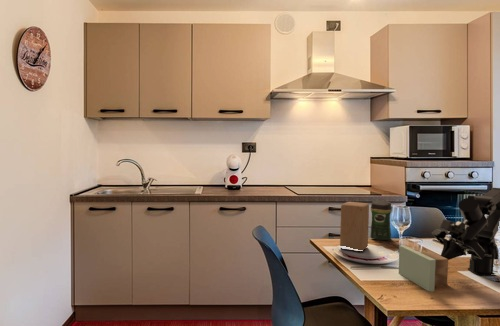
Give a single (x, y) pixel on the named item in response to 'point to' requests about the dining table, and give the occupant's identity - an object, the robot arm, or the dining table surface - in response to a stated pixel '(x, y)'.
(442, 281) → the walnut block
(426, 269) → the stop board
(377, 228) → the coffee jar
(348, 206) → the wooden block
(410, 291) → the dining table surface
